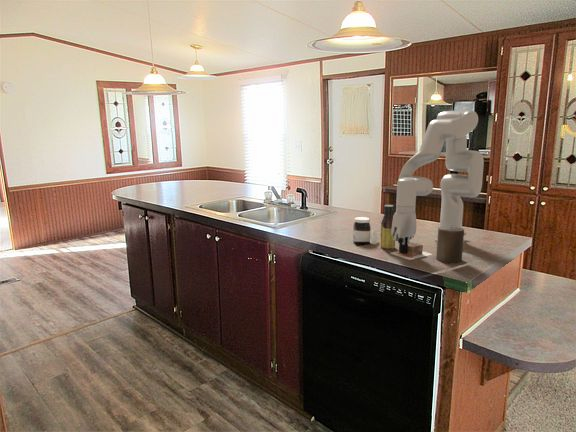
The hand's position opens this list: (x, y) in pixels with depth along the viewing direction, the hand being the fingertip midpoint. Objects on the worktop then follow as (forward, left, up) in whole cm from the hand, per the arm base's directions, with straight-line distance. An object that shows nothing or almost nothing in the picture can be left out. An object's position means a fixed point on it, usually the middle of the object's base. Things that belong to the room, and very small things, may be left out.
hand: (403, 252), depth 172 cm
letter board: (-5, 0, -2) cm, 5 cm away
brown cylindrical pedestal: (-11, +13, -2) cm, 18 cm away
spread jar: (-2, -25, -2) cm, 25 cm away
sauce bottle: (-3, -12, -2) cm, 12 cm away
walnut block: (-5, 0, -1) cm, 5 cm away
